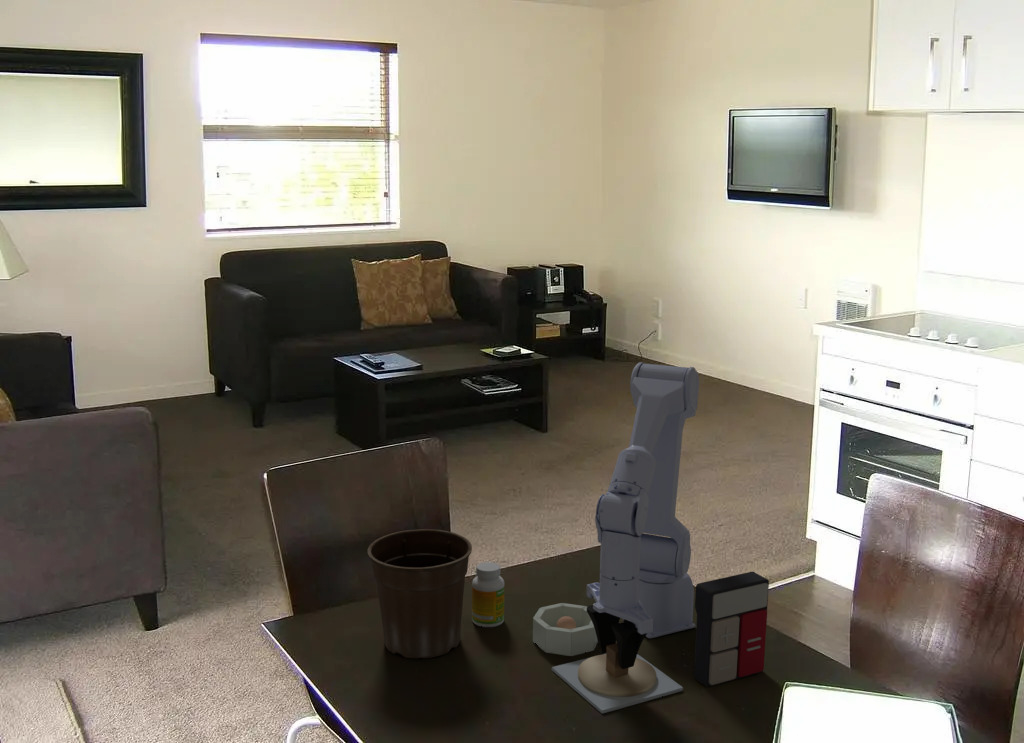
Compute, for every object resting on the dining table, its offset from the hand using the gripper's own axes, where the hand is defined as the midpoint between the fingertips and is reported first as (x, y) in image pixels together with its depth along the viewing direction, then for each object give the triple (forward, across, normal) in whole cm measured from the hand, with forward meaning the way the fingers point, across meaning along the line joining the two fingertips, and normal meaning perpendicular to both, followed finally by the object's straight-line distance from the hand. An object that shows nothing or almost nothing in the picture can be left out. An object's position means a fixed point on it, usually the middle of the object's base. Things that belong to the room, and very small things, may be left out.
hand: (616, 659), depth 154 cm
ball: (+1, -14, 0) cm, 15 cm away
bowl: (+3, -14, 0) cm, 15 cm away
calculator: (+4, +6, +16) cm, 18 cm away
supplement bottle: (+4, -26, -8) cm, 28 cm away
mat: (+3, 0, 0) cm, 3 cm away
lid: (+3, 0, 0) cm, 3 cm away
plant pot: (+4, -24, -21) cm, 32 cm away
